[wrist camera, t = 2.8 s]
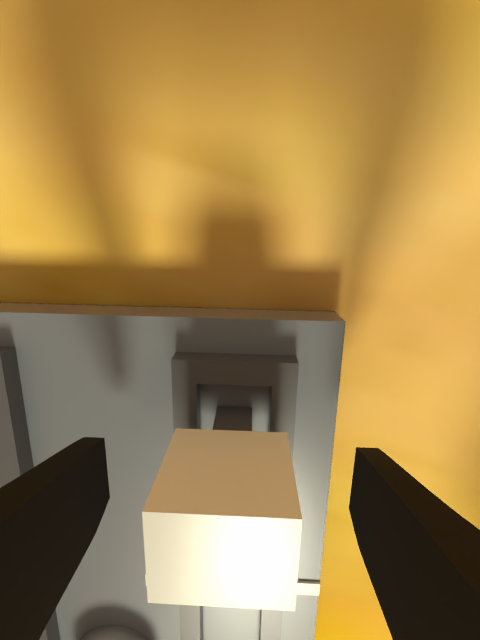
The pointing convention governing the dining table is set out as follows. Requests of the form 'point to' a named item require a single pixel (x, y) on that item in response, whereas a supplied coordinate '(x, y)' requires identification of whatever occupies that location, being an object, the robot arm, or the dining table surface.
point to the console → (167, 438)
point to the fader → (224, 518)
